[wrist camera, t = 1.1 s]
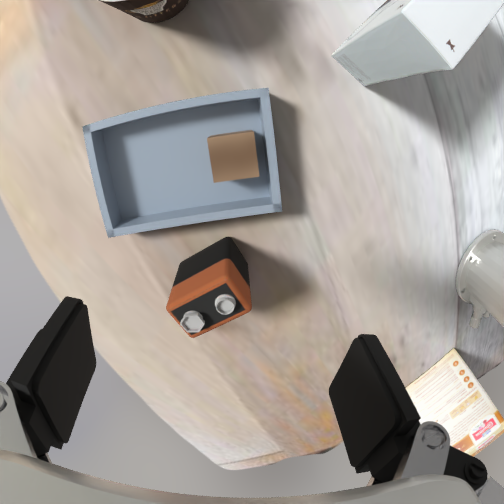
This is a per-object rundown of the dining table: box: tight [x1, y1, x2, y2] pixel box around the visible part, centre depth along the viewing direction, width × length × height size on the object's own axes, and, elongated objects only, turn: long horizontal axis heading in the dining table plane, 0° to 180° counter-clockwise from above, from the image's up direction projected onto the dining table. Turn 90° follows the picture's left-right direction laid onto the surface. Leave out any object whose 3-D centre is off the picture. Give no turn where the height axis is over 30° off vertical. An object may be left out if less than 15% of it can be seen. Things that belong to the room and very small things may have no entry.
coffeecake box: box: [406, 348, 504, 456], centre depth 39 cm, size 15×7×20 cm, turn 136°
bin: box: [83, 88, 282, 238], centre depth 28 cm, size 12×18×4 cm, turn 97°
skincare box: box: [332, 0, 504, 86], centre depth 16 cm, size 21×6×16 cm, turn 141°
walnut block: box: [207, 130, 259, 183], centre depth 27 cm, size 4×4×4 cm
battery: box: [166, 237, 252, 338], centre depth 30 cm, size 4×7×10 cm, turn 120°
